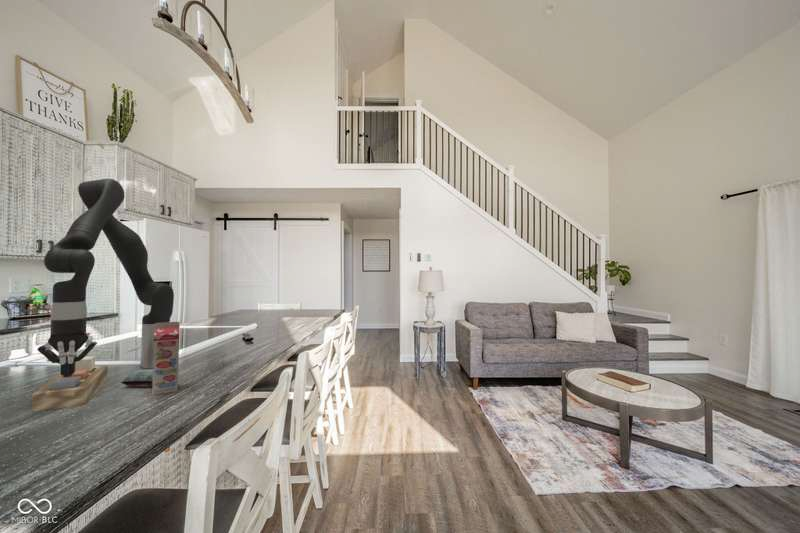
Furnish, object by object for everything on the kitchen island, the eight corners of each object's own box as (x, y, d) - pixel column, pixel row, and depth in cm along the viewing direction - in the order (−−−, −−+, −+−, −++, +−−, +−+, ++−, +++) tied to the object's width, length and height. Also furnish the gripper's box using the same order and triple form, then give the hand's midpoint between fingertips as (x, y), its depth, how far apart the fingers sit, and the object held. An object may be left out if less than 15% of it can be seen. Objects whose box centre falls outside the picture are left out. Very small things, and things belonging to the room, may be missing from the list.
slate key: (80, 389, 103) (80, 376, 103) (74, 394, 98) (75, 381, 99) (57, 392, 100) (57, 378, 100) (50, 397, 96) (51, 383, 96)
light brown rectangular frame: (107, 378, 120) (107, 365, 120) (85, 404, 98) (86, 388, 98) (65, 383, 115) (65, 369, 115) (31, 411, 92) (32, 394, 92)
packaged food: (137, 380, 120) (137, 366, 120) (172, 380, 121) (173, 366, 121) (119, 389, 111) (119, 374, 111) (157, 389, 112) (157, 374, 112)
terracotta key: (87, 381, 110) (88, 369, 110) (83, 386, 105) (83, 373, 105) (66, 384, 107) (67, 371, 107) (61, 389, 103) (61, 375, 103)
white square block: (94, 367, 117) (95, 355, 117) (90, 371, 112) (91, 359, 112) (75, 369, 114) (75, 357, 114) (70, 373, 110) (70, 360, 110)
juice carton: (153, 388, 112) (155, 321, 112) (177, 385, 115) (179, 320, 116) (152, 394, 106) (154, 324, 106) (177, 391, 110) (179, 323, 110)
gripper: (101, 314, 106) (100, 369, 106) (42, 316, 100) (41, 375, 99) (95, 317, 100) (94, 376, 100) (31, 320, 93) (30, 383, 93)
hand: (67, 376), depth 100 cm, fingers closed
